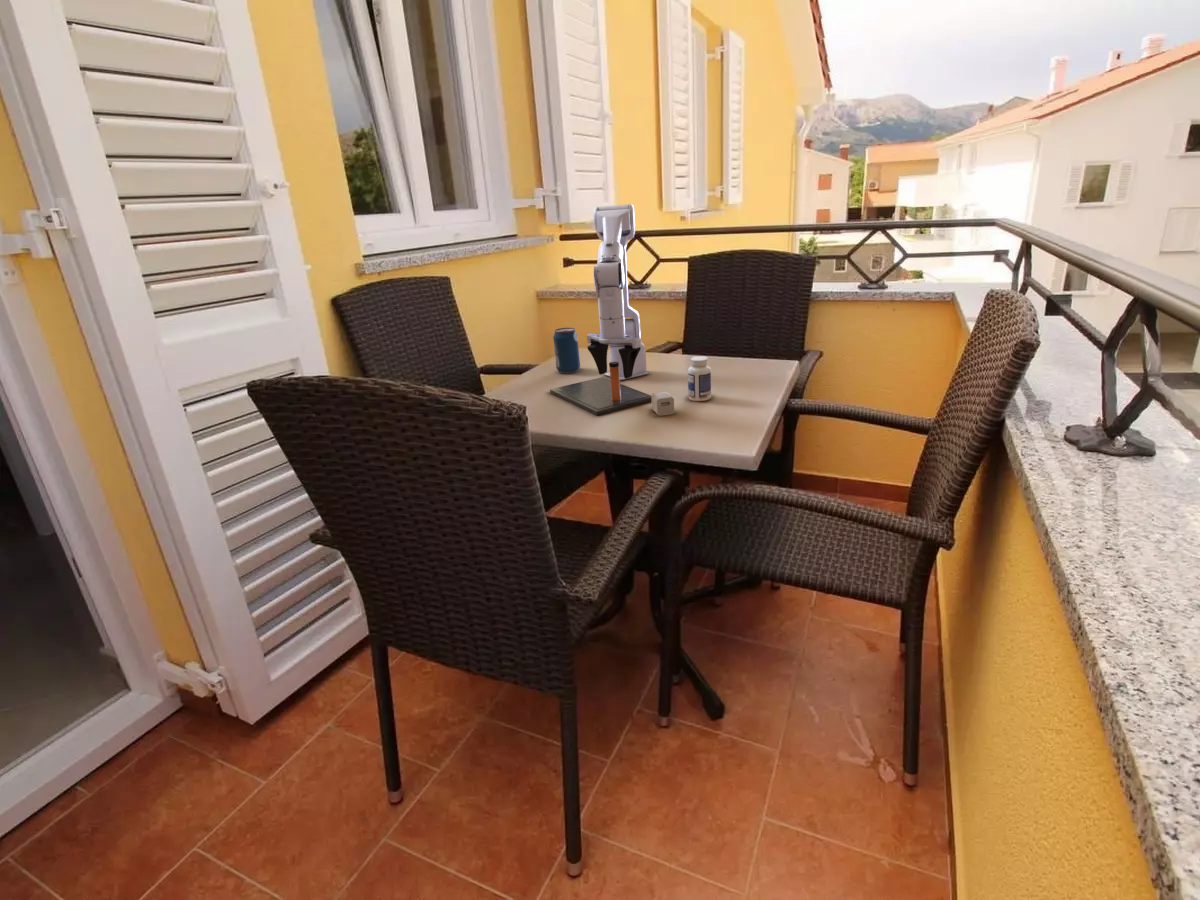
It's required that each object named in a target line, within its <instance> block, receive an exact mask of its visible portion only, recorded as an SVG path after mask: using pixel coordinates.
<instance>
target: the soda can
mask: <svg viewBox="0 0 1200 900" xmlns="http://www.w3.org/2000/svg"><path fill="white" fill-rule="evenodd" d="M552 338H553V339H552V340H553V348H554V350H553V351H554V358H555V368H556V370H557V371H558V373H560V374H573V373H576V372H578V371H579V369H580V368H581V359H580V348H579V347H580V346H579V336H578V333H577V332H576V328H574V327H561V328H556V329H555V330H554V333H553V336H552Z"/></svg>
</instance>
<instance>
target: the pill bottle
mask: <svg viewBox="0 0 1200 900" xmlns="http://www.w3.org/2000/svg"><path fill="white" fill-rule="evenodd" d="M708 365H709V358H708V357H707V356H704V355H703V356H701V355H699V356H692V357H690V366H689V368H688V369H687V393H688V399H689V400H690V401H694V402H704V401H708V400H710V399H711V398H712V368H711V367H710V366H708Z"/></svg>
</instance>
